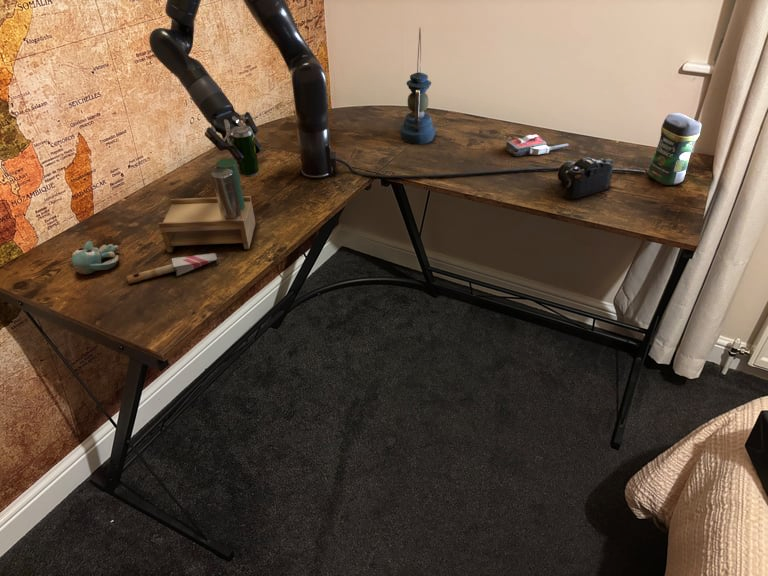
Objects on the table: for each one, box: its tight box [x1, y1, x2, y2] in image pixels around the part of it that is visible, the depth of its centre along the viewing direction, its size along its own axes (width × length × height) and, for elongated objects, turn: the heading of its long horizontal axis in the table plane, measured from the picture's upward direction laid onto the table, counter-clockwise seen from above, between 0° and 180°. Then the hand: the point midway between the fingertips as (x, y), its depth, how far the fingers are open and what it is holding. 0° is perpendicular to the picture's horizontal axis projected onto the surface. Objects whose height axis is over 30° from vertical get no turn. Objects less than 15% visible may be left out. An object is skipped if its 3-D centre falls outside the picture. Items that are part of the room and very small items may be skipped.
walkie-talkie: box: [505, 133, 569, 157], centre depth 177 cm, size 9×4×20 cm
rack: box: [158, 158, 257, 253], centre depth 135 cm, size 20×12×19 cm, turn 93°
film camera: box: [557, 156, 615, 200], centre depth 155 cm, size 18×12×10 cm
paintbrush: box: [126, 252, 218, 285], centre depth 128 cm, size 4×3×20 cm
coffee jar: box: [647, 112, 702, 186], centre depth 156 cm, size 10×8×19 cm
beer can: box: [231, 124, 260, 178], centre depth 142 cm, size 5×5×12 cm
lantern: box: [399, 28, 436, 145], centre depth 177 cm, size 14×12×35 cm
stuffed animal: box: [71, 240, 120, 275], centre depth 130 cm, size 11×7×12 cm
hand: (250, 155), depth 141 cm, fingers closed on beer can, 5 cm apart
